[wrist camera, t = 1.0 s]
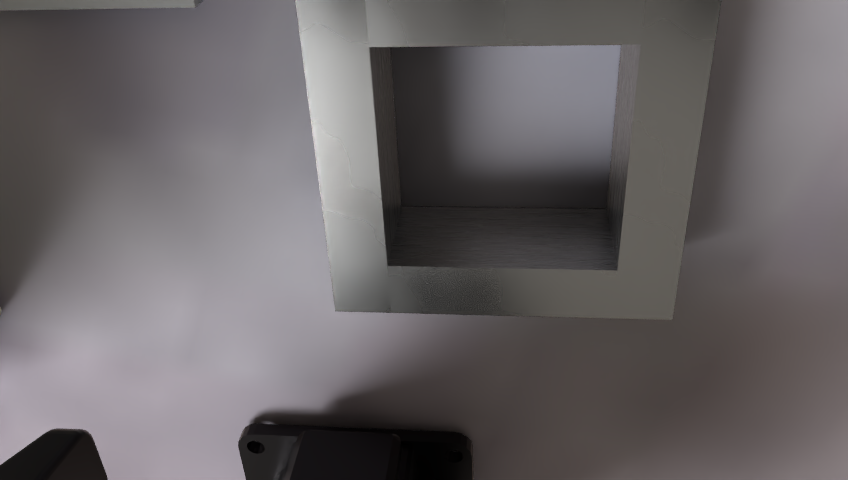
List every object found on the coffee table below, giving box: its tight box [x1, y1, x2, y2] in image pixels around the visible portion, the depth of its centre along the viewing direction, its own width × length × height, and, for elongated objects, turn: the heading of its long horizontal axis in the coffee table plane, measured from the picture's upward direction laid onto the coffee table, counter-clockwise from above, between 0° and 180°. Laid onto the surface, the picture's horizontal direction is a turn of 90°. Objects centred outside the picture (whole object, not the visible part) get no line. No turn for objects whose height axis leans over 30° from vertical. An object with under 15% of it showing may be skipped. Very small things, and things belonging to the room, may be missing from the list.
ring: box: [295, 0, 721, 320], centre depth 16 cm, size 7×7×2 cm
